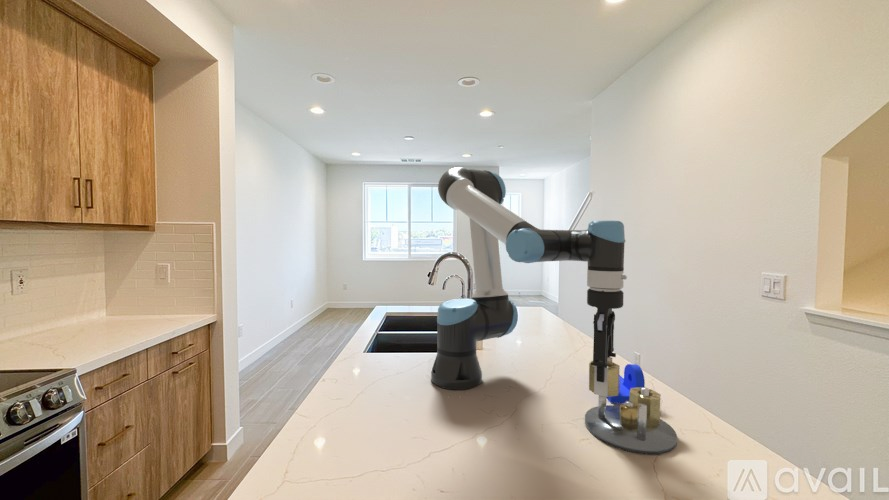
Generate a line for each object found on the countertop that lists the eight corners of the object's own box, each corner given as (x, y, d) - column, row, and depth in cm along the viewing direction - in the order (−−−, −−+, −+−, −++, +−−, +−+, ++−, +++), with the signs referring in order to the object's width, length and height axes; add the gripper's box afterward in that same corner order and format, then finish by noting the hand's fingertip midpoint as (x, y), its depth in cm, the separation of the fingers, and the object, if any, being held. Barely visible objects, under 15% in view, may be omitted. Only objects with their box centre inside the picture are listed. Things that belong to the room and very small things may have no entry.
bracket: (644, 404, 91) (645, 370, 91) (610, 403, 92) (611, 369, 91) (614, 377, 109) (614, 348, 109) (586, 376, 110) (587, 347, 109)
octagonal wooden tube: (587, 392, 80) (587, 366, 80) (592, 383, 85) (592, 358, 85) (617, 398, 77) (617, 371, 77) (620, 388, 82) (620, 363, 82)
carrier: (577, 436, 76) (578, 398, 76) (592, 403, 91) (593, 372, 91) (677, 466, 67) (679, 423, 66) (676, 423, 82) (677, 388, 81)
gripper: (618, 296, 71) (615, 410, 71) (627, 285, 87) (625, 379, 87) (578, 292, 75) (576, 401, 75) (594, 283, 91) (593, 372, 91)
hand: (603, 389), depth 81 cm, fingers closed on octagonal wooden tube, 6 cm apart
